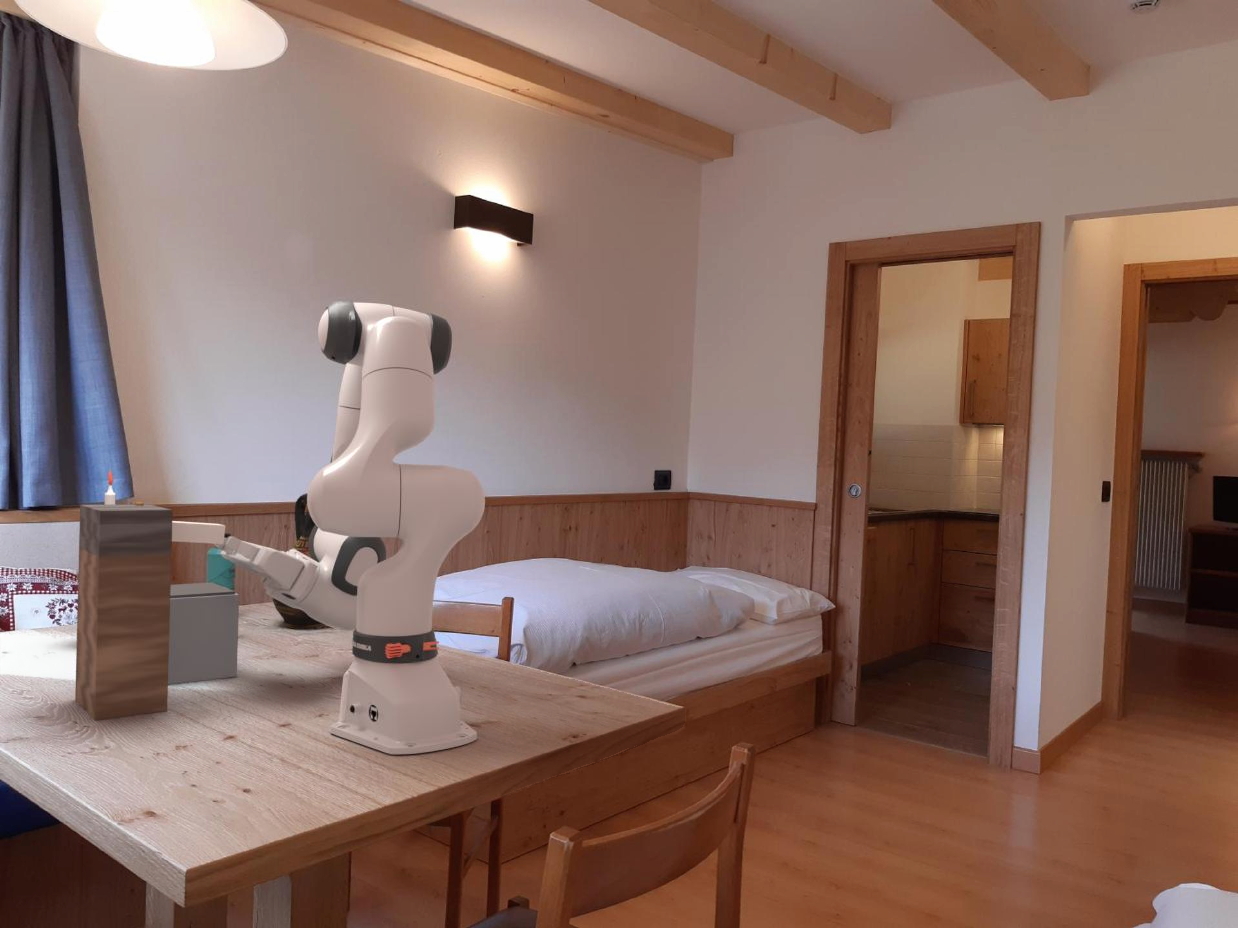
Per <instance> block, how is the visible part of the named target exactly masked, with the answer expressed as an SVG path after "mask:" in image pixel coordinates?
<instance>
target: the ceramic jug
mask: <svg viewBox="0 0 1238 928" xmlns="http://www.w3.org/2000/svg"><path fill="white" fill-rule="evenodd" d="M307 495H308V492H307V493H303V494H301V495H300V496H299V497H298V498H297V499H296V501H295V505H294V523H295V525H294V526H295V527H294V528H295V538H296V541H295V543H294V545H293V546H292V547H291V548H290V549H289V550H291V549H295V550H297V551H299V552H301V553H302V554H304V555H306V556H308V557H310V558H311V556H310V554H309V550H308V541H309V537H310V534H311V531H312V529H313V528H314V526H315V523H314V521H313V520H312V518H311V516H310V513H309V510H308V509H306V507H307ZM306 510H307V511H306ZM305 511H306V512H305ZM311 559H312V558H311ZM271 598H272V602H273V604H274V607H275V610H276V611H277V612H278V613H279V615H280V616H281V618H282V619H283V626H284V627H287V628H289V629H293V630H296V629H297V630H298V629H304V630H313V629H315V630H316V629H318V628H325V627H326V626H327V625H325V624H323V623H321V622H319V621H317V620H315V619H313V618H311V617H309V616H308V615H307V614H306V613H305V612H304V611H303V610H300V609H297V608H292V607H290V606H288V605H286V604H284V603H282V602H280V601H278V600H276V599H274V598H273V597H271Z"/></svg>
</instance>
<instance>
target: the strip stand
mask: <svg viewBox="0 0 1238 928" xmlns="http://www.w3.org/2000/svg"><path fill="white" fill-rule="evenodd" d="M173 511H174V509H170V508H166V507H161V506H157V505H154V504H149V503H147V504H145V503H144V502H134V504H132V503H131V504H129V503H128V504H126V503H125V504H121V503H120V504H115V505H105V504H79V530H78V531H79V535H78V537H79V538H78V540H79V541H78V571H77V572H78V573H77V574H78V581H77V616H76V649H75V650H76V652H75V653H76V655H75V656H76V657H75V659H76V662H75V695H74V699H75V701H76V702H77V703H78V704H79V706H80V707H82V709H83V710H84V711H85V712H86V713H87V714H88V715H89V716H90V717H91V718H92V719H93V720H94V721H101V720H107V719H114V718H123V717H130V716H137V715H145V714H152V713H153V714H154V713H160V712H162V713H163V712H167V711H168V705H169V703H168V700H169V697H168V696H169V695H168V694H169V684H168V667H169V629H170V591H171V585H172V584H171V581H172V580H171V579H172V549H173V548H172V546H173V541H172V521H173V514H174V513H173Z"/></svg>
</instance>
